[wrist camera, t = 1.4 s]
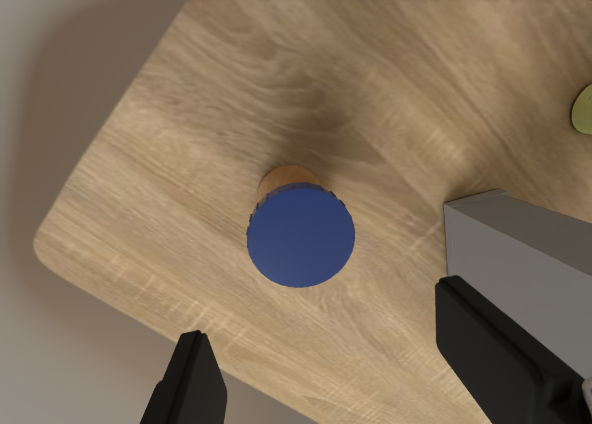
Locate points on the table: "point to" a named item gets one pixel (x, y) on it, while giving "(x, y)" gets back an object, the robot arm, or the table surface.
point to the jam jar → (285, 179)
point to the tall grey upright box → (527, 268)
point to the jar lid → (300, 235)
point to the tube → (583, 111)
